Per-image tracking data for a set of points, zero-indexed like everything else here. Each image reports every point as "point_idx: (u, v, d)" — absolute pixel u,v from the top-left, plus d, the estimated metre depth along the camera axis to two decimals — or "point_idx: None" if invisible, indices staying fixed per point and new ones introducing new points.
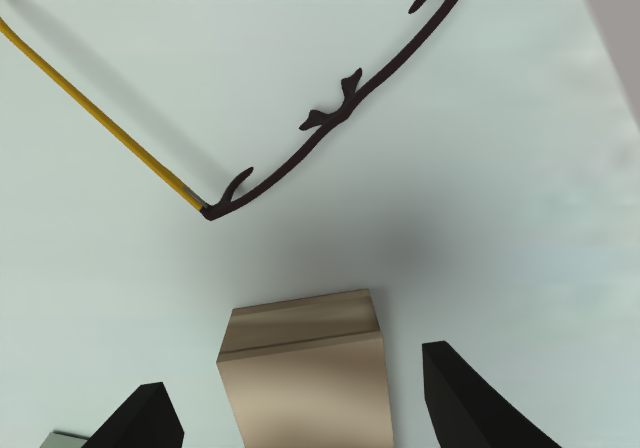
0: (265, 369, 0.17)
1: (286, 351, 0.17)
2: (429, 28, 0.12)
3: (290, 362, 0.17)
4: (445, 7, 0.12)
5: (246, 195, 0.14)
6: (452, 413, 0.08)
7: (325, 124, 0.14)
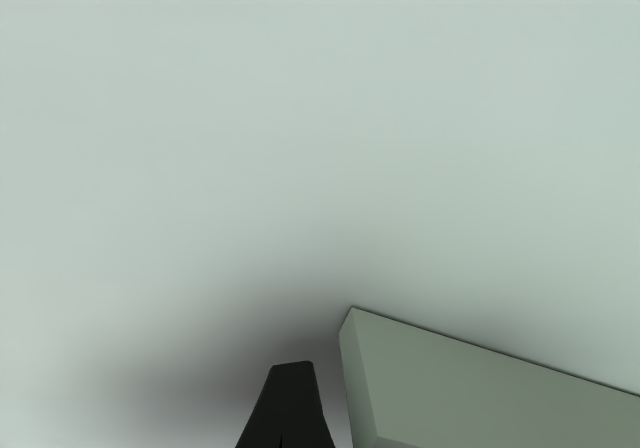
0: None
1: None
2: None
3: None
4: None
5: None
6: None
7: None
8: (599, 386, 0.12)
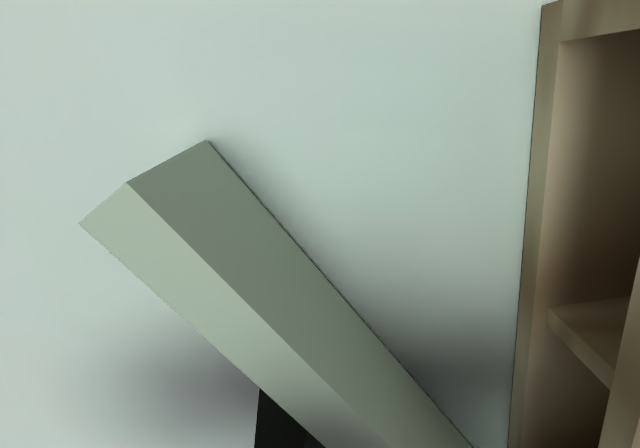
0: None
1: None
2: None
3: None
4: None
5: None
6: None
7: None
8: (401, 369, 0.11)
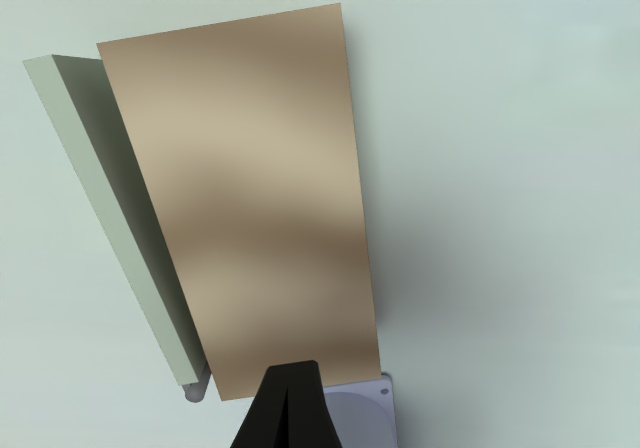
0: (170, 62, 0.12)
1: (198, 26, 0.11)
2: None
3: (206, 47, 0.12)
4: None
5: None
6: None
7: None
8: None
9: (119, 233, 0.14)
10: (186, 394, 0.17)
